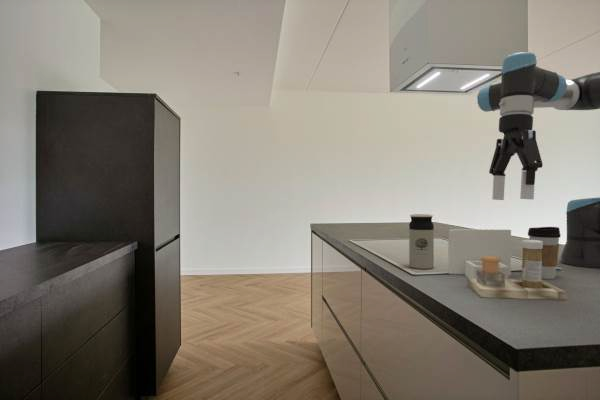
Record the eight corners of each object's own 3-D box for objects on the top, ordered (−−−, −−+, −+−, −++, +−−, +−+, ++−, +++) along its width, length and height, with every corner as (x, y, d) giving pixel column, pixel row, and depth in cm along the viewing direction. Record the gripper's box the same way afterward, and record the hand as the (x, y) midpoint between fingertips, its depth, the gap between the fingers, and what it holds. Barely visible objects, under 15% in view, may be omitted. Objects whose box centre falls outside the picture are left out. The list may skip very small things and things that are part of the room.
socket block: (541, 287, 104) (542, 269, 104) (565, 300, 92) (565, 279, 92) (467, 285, 107) (467, 267, 107) (481, 297, 95) (481, 277, 95)
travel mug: (412, 264, 138) (412, 214, 138) (435, 266, 134) (435, 214, 134) (406, 268, 131) (406, 215, 131) (430, 270, 127) (430, 215, 127)
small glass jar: (496, 274, 102) (496, 255, 102) (502, 278, 98) (502, 258, 98) (478, 274, 103) (478, 255, 103) (484, 277, 98) (484, 258, 98)
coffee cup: (565, 280, 112) (566, 228, 111) (533, 279, 114) (533, 228, 113) (552, 274, 120) (553, 226, 120) (523, 273, 122) (523, 225, 121)
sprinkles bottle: (524, 289, 102) (524, 238, 102) (544, 292, 99) (544, 240, 99) (519, 293, 99) (519, 240, 98) (540, 296, 96) (540, 242, 95)
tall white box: (508, 274, 120) (509, 229, 120) (525, 283, 109) (525, 233, 108) (448, 272, 123) (448, 229, 123) (458, 281, 111) (458, 233, 111)
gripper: (478, 125, 111) (474, 199, 110) (529, 102, 86) (524, 197, 85) (505, 126, 110) (501, 200, 110) (563, 104, 86) (558, 199, 85)
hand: (511, 199), depth 98 cm, fingers open, 13 cm apart
